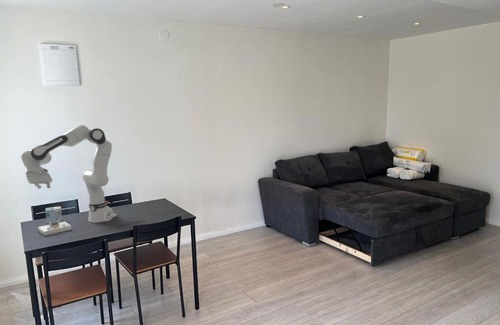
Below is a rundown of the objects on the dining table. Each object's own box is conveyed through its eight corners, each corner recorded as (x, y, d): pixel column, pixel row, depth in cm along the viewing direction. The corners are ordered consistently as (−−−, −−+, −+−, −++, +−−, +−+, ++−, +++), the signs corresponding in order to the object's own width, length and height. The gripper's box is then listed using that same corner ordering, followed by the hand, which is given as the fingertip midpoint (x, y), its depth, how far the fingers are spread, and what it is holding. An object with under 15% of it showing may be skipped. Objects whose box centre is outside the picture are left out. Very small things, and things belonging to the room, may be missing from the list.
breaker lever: (51, 226, 261) (48, 211, 262) (56, 225, 263) (53, 210, 264) (52, 225, 259) (49, 211, 260) (57, 224, 262) (54, 210, 262)
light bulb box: (46, 223, 275) (45, 210, 274) (46, 221, 281) (45, 208, 279) (62, 221, 281) (61, 208, 279) (61, 219, 287) (60, 206, 285)
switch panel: (38, 231, 260) (37, 222, 259) (65, 225, 272) (64, 217, 271) (44, 235, 251) (43, 227, 250) (71, 229, 263) (70, 221, 262)
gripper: (28, 168, 248) (37, 185, 246) (49, 169, 268) (57, 185, 267) (21, 173, 249) (30, 190, 247) (42, 174, 269) (50, 190, 267)
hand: (44, 188), depth 257 cm, fingers open, 8 cm apart
